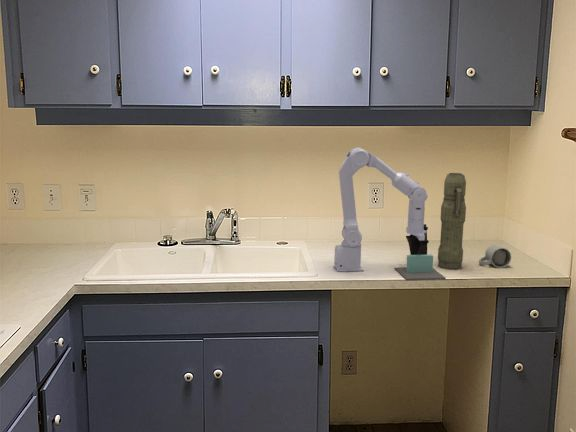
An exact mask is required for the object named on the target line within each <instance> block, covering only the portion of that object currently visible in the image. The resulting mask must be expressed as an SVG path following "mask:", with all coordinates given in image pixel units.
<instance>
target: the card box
mask: <svg viewBox="0 0 576 432" xmlns="http://www.w3.org/2000/svg"><path fill="white" fill-rule="evenodd" d="M433 265H434V255H432V254H427V255H411V254H407V255H406V271H407V272H408V273H419V272H432V270H433V269H434V266H433Z"/></svg>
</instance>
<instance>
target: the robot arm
mask: <svg viewBox="0 0 576 432" xmlns="http://www.w3.org/2000/svg"><path fill="white" fill-rule="evenodd" d="M365 166H366V167H368V168H375V169H376V170H377V171H378V172H381V173H382V175H384V176H386V177H387V178H388V179H390V180H391V186H393V187H394V188H396V189H397V190H398V191H399V192H401V193H402V194H403V195H405V196H407V197H408V208H407V209H408V211H407V212H408V213H407V226H406V227H405V232H406V234H407V235H405V238H406V241H407V243H408V247H409V248H408V249H409V252H410V254H409V255H418V252H419V248H420V246H421V244H422V242H423V241H424V240H425V235H424V233H426V231H425V230H423V229H424V224H425V212H426V211H425V210H426V209H425V204H426V200H427V199H428V194H427V190H426V189H425V188H423V187H421V186H420V185H419V182H417V181H414V180H413V179H411V178H410V177H409V174H408V173H407V172H405V173H403V172H397V171H395V170H394V169H393V168H391V167H390V166H389V165H388V164H386V162H384V161H383V160H382V159H381V158H379V157H378V156H376V155H374V154H372V153H370V152H368V151H367V150H366V149H364V148H361V147H353V148H352V149H351V150H349V151H348V152H347V153H346V155H345V157H344V159H343V162H342V164H341V166H340V167H339V169H338V175H339V176H338V178H339V186H340V196H341V197H340V198H341V205H342V217H343V227H342V231H341V236H342V238H343V240H342V242H341V244H338V245H335V247H334V263H333V266H334V268H335V269H336V270H337V272H364V271H365V270H364V268H363V267H362V265H361V261H362V260H361V259H362V258H361V257H362V239H363V237H362V236H363V235H362V233H361V232H360V230H359V225H358V220H357V210H356V209H357V208H356V200H355V191H354V189H355V188H354V179H353V176H354V175H355V174H356V173H357V172H358V171H359V170H361V169H362V168H364V167H365ZM408 234H409V235H408Z"/></svg>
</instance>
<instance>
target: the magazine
mask: <svg viewBox="0 0 576 432" xmlns="http://www.w3.org/2000/svg"><path fill="white" fill-rule="evenodd" d="M423 230H425V231H426V233H424V235H425V240H424V241H423V242H422V244H421V246H420V248H419V252H418V255H428V244H429V240H428V230H429V227H428V226H427V224H425V223H424V229H423Z"/></svg>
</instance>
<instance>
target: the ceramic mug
mask: <svg viewBox="0 0 576 432" xmlns="http://www.w3.org/2000/svg"><path fill="white" fill-rule="evenodd" d="M511 260H512V253H511V252H510V250H509V249H507V248H505V247H503V246H501V245H497V244H495V245H490V246H488V247H487V249H486V251H485V254H484V256H483V257H480V259H478V263H479V265H480V266H488V265H492V266H493V267H496V268H497V269H505V268H506V267H507V266H508V265H510V264H511Z"/></svg>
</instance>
